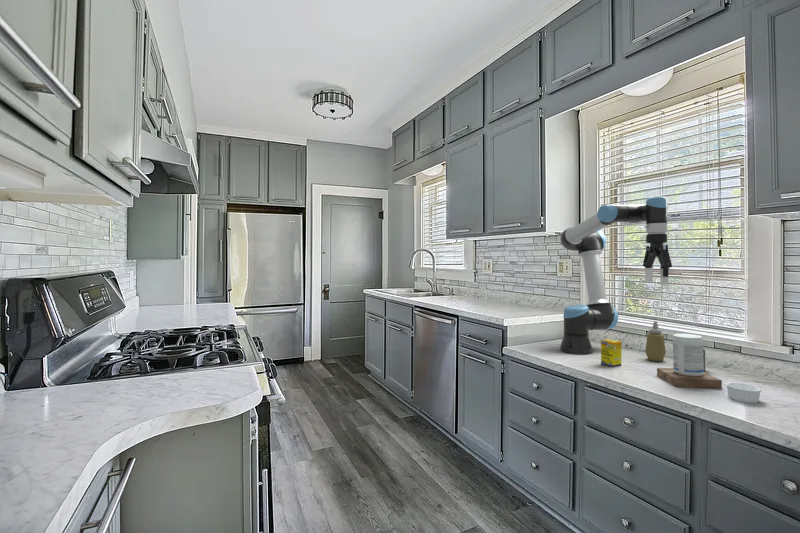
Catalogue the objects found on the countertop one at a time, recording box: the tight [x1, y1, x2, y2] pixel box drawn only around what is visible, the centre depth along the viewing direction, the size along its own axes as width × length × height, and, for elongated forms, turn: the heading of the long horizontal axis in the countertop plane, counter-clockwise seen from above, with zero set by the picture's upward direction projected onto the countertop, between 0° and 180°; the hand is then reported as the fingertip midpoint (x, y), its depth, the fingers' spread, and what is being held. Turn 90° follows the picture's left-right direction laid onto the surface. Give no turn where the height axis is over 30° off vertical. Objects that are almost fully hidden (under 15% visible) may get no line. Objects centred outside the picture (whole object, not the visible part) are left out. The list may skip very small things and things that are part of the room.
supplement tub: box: [672, 333, 705, 376], centre depth 153 cm, size 10×10×15 cm
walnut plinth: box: [656, 367, 723, 390], centre depth 153 cm, size 15×15×3 cm
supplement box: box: [600, 338, 622, 368], centre depth 178 cm, size 6×6×11 cm
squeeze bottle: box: [645, 321, 667, 362], centre depth 185 cm, size 8×8×18 cm
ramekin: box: [725, 382, 762, 404], centre depth 134 cm, size 9×9×4 cm
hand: (656, 283), depth 169 cm, fingers open, 13 cm apart
